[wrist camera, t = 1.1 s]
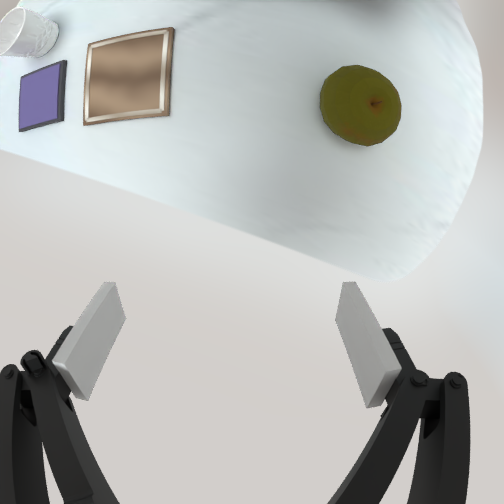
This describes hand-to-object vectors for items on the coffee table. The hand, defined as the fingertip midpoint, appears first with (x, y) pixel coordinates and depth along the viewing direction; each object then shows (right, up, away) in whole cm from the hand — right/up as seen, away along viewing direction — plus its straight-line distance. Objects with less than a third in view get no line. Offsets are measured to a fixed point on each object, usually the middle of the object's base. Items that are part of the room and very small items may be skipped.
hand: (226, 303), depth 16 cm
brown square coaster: (-16, +27, +14) cm, 34 cm away
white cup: (-32, +37, +9) cm, 50 cm away
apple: (+14, +23, +17) cm, 32 cm away
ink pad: (-32, +27, +14) cm, 44 cm away
